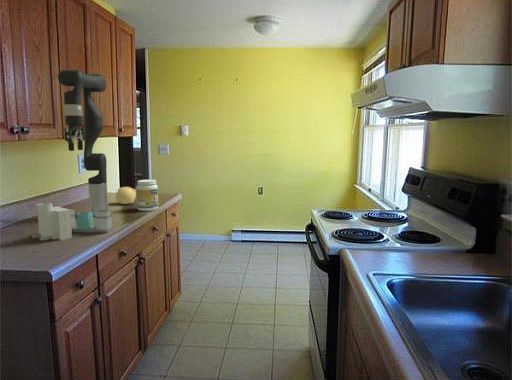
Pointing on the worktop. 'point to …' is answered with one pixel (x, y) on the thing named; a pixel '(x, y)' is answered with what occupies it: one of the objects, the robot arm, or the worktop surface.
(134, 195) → the pale yellow ball
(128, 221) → the worktop surface
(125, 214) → the worktop surface
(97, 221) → the rail
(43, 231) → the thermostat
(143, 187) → the supplement tub
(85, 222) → the block
